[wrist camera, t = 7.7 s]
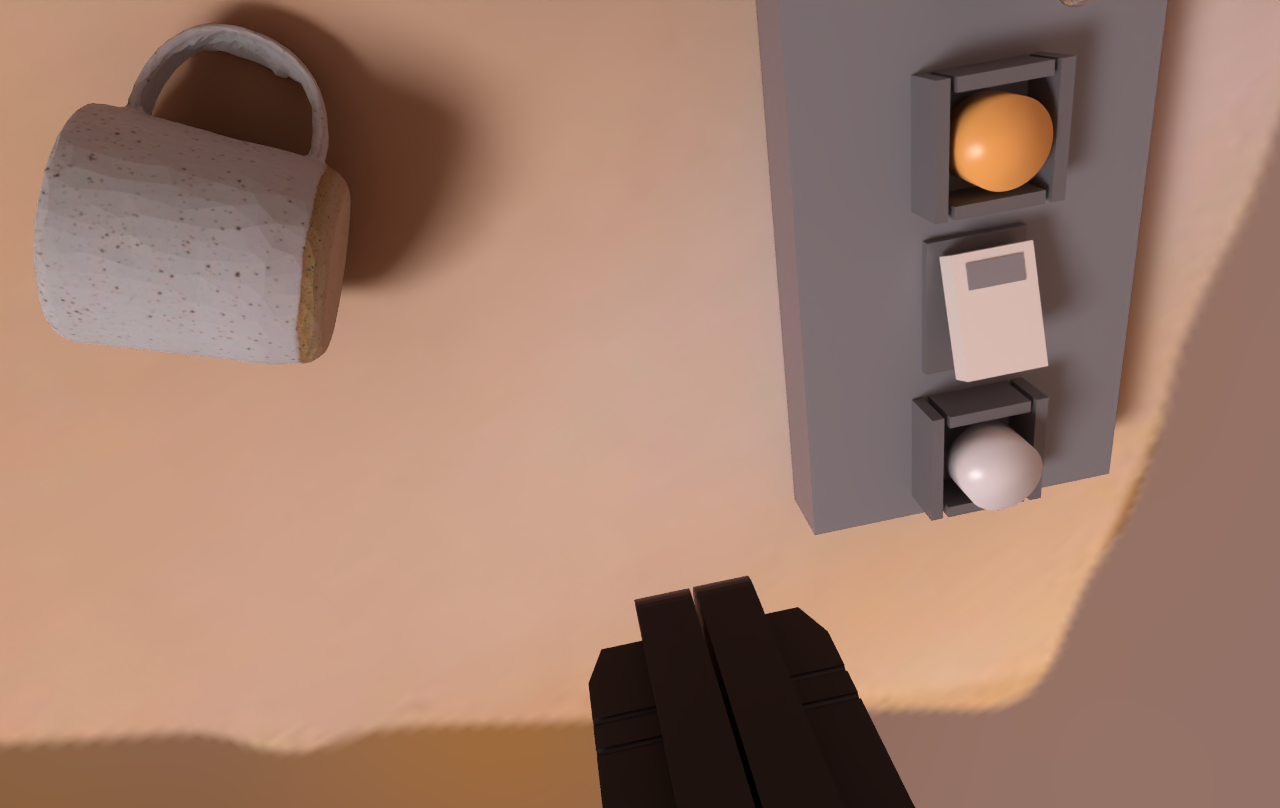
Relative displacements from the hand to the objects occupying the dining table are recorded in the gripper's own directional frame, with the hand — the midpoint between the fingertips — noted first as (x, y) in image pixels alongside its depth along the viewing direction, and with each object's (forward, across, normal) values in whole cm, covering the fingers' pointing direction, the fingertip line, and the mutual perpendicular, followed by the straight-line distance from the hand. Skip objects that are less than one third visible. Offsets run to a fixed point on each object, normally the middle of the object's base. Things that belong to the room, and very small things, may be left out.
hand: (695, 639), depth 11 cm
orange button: (+21, -15, 0) cm, 26 cm away
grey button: (+20, -15, +12) cm, 28 cm away
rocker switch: (+21, -15, +6) cm, 26 cm away
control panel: (+25, -15, +2) cm, 29 cm away
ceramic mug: (+25, +12, -3) cm, 28 cm away
